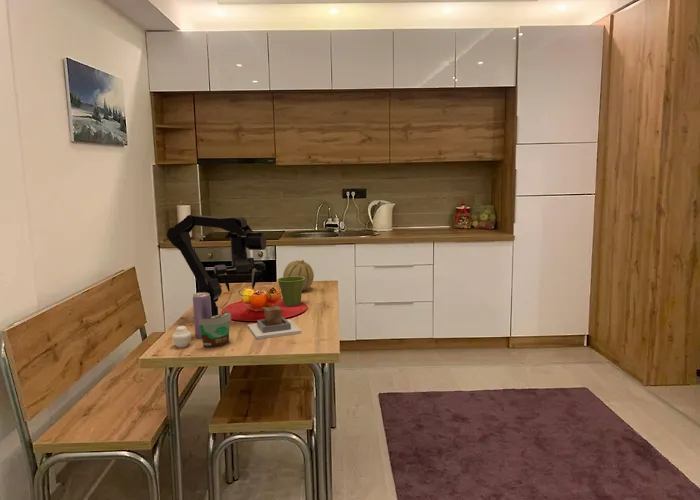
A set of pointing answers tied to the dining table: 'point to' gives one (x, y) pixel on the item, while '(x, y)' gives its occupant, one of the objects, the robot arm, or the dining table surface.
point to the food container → (215, 330)
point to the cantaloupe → (300, 272)
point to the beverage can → (201, 310)
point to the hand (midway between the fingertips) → (241, 290)
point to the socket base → (273, 329)
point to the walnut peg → (273, 316)
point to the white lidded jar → (181, 336)
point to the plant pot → (291, 289)
